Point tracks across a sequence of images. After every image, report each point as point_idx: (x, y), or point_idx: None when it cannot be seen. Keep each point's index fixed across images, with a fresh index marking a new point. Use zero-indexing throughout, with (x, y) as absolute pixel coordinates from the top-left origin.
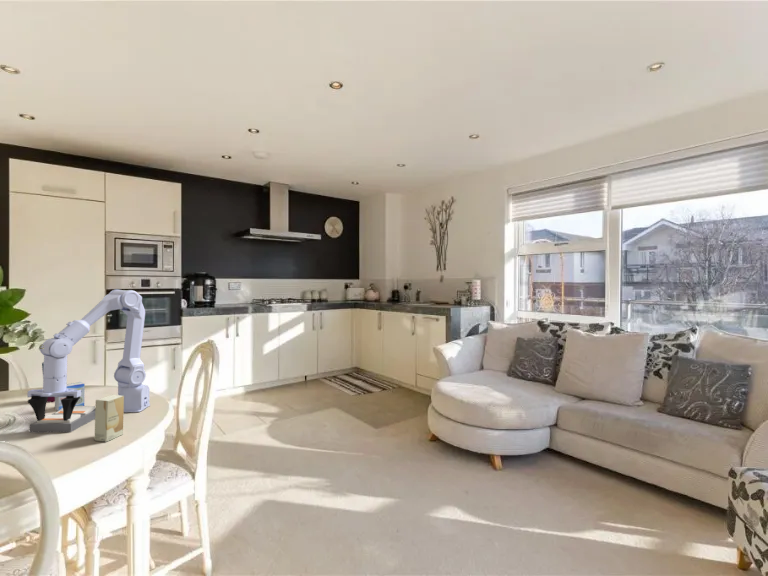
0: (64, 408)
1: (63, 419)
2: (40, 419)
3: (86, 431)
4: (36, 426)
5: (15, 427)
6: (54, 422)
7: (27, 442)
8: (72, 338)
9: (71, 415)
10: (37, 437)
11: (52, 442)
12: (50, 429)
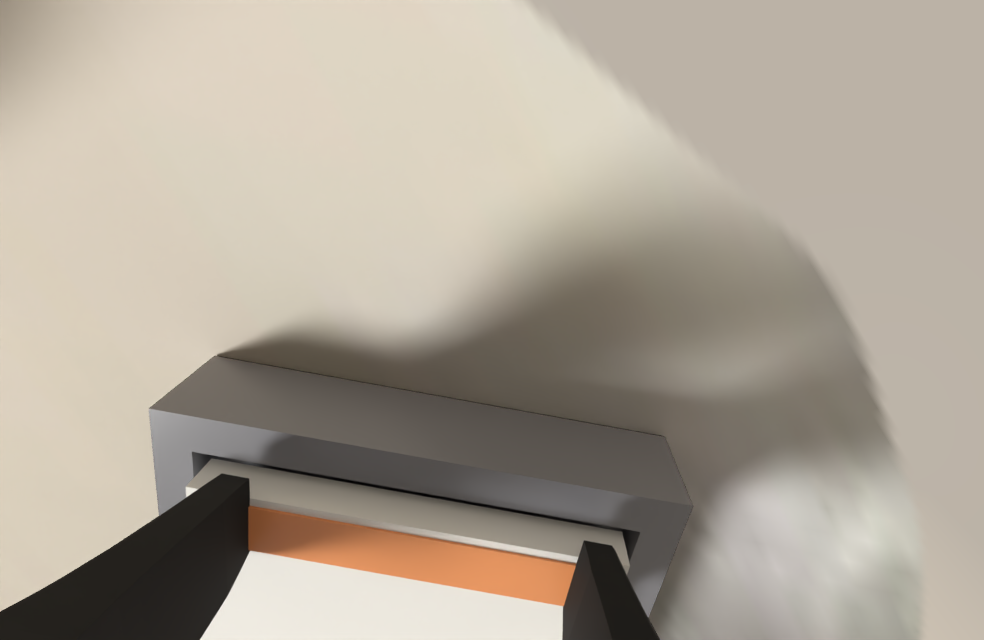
0: (47, 630)
1: (238, 488)
2: (580, 564)
3: (57, 343)
4: (598, 469)
5: (870, 605)
6: (400, 500)
7: (529, 104)
8: None
9: (281, 636)
10: (498, 265)
11: (201, 31)
12: (432, 415)
